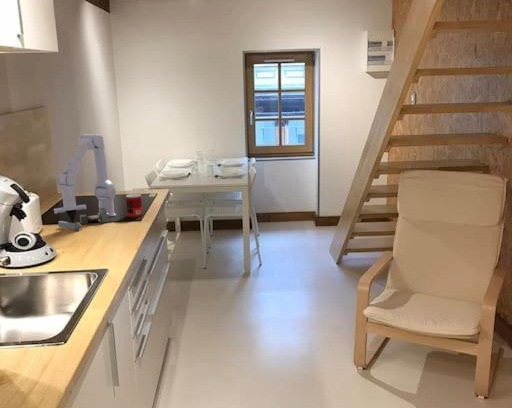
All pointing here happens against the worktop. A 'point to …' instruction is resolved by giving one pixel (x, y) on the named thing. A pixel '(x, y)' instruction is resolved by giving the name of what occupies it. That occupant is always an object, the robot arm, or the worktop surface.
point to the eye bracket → (103, 216)
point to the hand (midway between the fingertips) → (72, 225)
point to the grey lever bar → (69, 225)
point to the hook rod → (90, 218)
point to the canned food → (134, 205)
